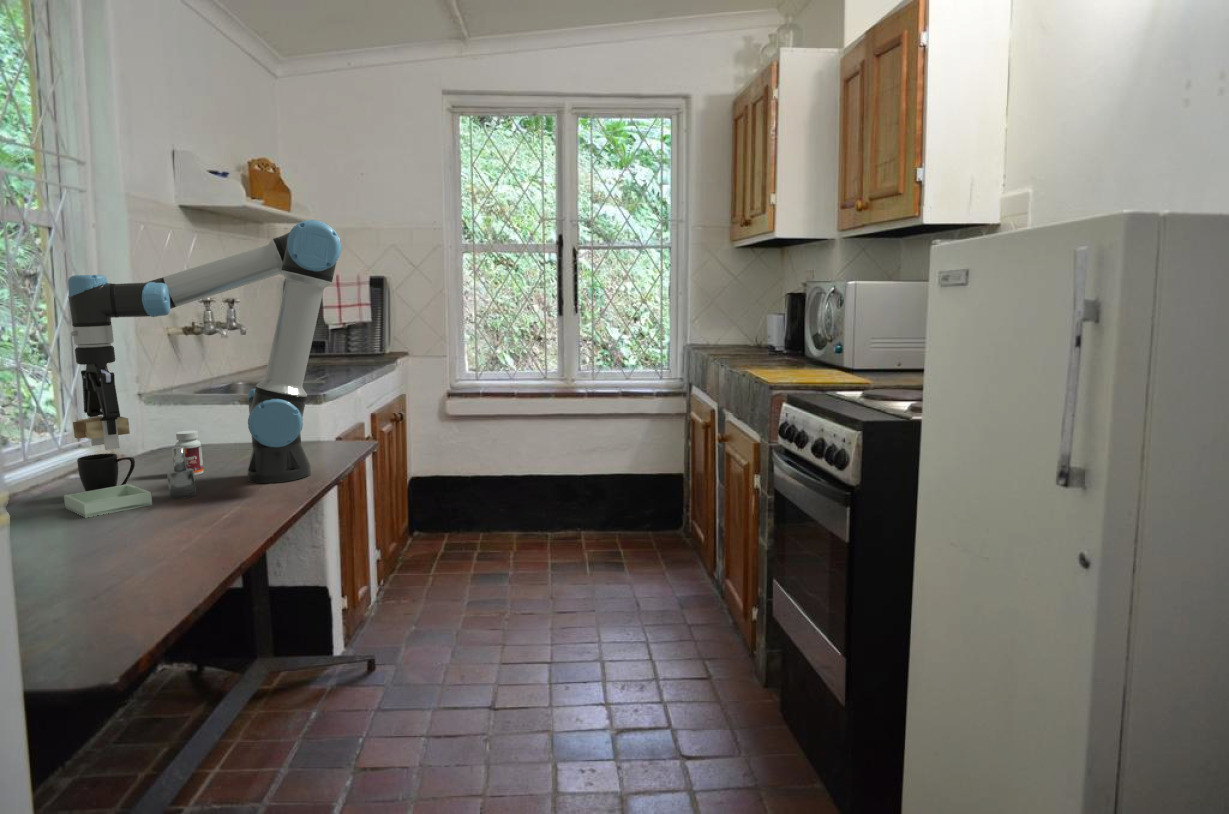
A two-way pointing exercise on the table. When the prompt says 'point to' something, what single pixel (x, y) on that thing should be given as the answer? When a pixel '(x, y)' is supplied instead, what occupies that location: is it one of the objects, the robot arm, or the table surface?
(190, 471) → the grey piece
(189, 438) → the pill bottle
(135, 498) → the tray
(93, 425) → the wooden rectangular frame
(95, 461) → the mug
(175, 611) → the table surface
